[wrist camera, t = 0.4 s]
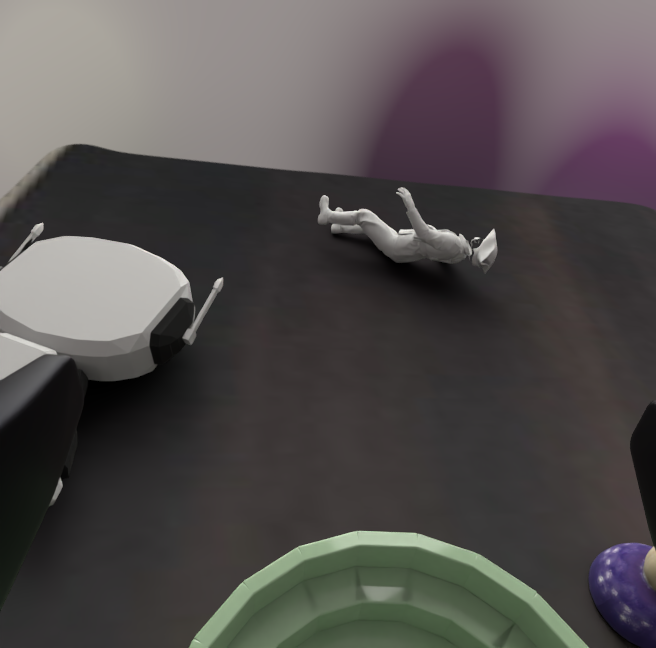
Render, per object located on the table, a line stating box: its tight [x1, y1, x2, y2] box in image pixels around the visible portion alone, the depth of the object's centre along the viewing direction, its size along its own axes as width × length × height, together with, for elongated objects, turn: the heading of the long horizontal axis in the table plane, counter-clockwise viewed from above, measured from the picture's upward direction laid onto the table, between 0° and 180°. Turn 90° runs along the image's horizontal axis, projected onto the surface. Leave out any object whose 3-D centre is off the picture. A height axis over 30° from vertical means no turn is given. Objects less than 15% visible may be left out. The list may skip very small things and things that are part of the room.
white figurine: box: [318, 188, 497, 274], centre depth 40 cm, size 8×5×12 cm
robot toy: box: [0, 223, 223, 506], centre depth 29 cm, size 12×4×15 cm
